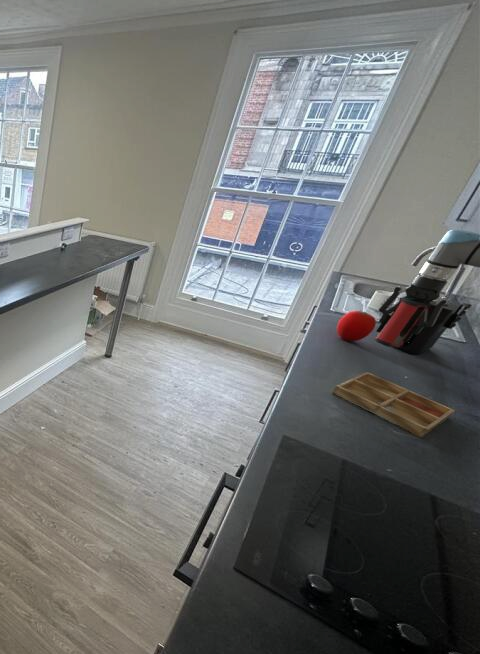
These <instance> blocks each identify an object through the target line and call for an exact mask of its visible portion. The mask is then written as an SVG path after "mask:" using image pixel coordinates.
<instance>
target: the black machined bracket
mask: <svg viewBox="0 0 480 654" xmlns="http://www.w3.org/2000/svg"><path fill="white" fill-rule="evenodd" d="M436 302H437V300H433V301H431V302H430V303H431V306H430V308H428V312H427V320H426V323H428V321H429V319H430V317H431V315H432V313H433V311H434V309H435V307H436V306H437V304H436ZM472 305H473V304H471V303H466V302H463V303H461V304H460V305H459V306H457V305H456V304H453V303H450V302H448V303H447V304H445V305H444V306H443V308H442V310H441V312H440V314H439V316H438V318H437V320H436V322H435V324H434V325H433V326H431V327H423V329H422V330H421V331H420V333H419V334H417V335H415V334H413V336H412V337H411V338H410V340H409V341H407V342H409V343H410V344H408V346H406V345H404V344H403V345H402V347H399V348H397V349H396V350H399V349H400V350H399V351H402V350H403V351H402V352H404V351H405V353H406V354H409V355H410V354H411V355H416V356H417V355H421V354H423V353H425V352H427V351H428V350H430V349H432V348H433V347H434V346H435V344H436V343H437V342H438V340H439V339H440V338H441V336H442V335H443V334H444V333H445V331H447V329H449V330H451V329H454V328H455V327H456V326H457V324H458V322H460V321H461V320H462V316H465V315H466V313H468V311H467V310H469V309H471V307H472ZM417 324H419V322H418V323H417Z"/></svg>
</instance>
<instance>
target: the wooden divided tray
mask: <svg viewBox="0 0 480 654" xmlns="http://www.w3.org/2000/svg"><path fill="white" fill-rule="evenodd" d="M332 393H334V394H336V395H338V396H340V397H342V398H344V399H346V400H348V401H351V402H353V403H355V404H358V405H360V406H362V407H364V408H366V409H368V410H371V411H373V412H375V413H377V414H379V415H381V416H383V417H385V418H387V419H388V420H391V421H392V422H394V423H396V424H398V425H399V426H400V427H402V428H403V429H402V428H401V429H402V430H404V429H405V430H404V431H406V430H407V431H406V432H408V431H409V432H408V433H410V432H411V433H410V434H412V435H414V436H415V437H418V438H421V439H422V438H423V437H424V436H426V435H427V434H428V433H430V432H431V431H433V430H434V429H436V428H437V427H438V426H440V425H442V424H443V423H445V421H447V420H448V419H449V418H450V417H451V416H452V415H453V414H454V413H455V412H456V410H455V409H453V408H451V407H448V406H446V405H444V404H442V403H439V402H436V401H435V400H432V399H430V398H427V397H425V396H423V395H421V394H419V393H417V392H414V391H412V390H410V389H407V388H404V387H402V386H400V385H398V384H396V383H394V382H391V381H389V380H386V379H384V378H382V377H379V376H378V375H375V374H373V373H370V372H368V371H366V372H364V373H362V374H359V375H358V376H355V377H352V378H351V379H348V380H347V381H344V382H342V383H339V384H337V385H336V386H335V387H334V389H333V390H332V392H331V394H332ZM334 394H333V395H334ZM336 395H335V396H336ZM338 396H337V397H338ZM340 397H339V398H340ZM342 398H341V399H342ZM344 399H343V400H344ZM346 400H345V401H346ZM348 401H347V402H348ZM379 402H380V403H381V404H380V405H378V403H379ZM386 407H391V408H392V407H393V410H392V411H390V410H388V409H386ZM394 408H395V411H394ZM439 424H440V425H439ZM400 427H399V428H400ZM432 429H433V430H432ZM425 434H426V435H425Z"/></svg>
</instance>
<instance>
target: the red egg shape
mask: <svg viewBox="0 0 480 654" xmlns="http://www.w3.org/2000/svg"><path fill="white" fill-rule="evenodd" d="M376 323H377V321H376V318H375V316H373V315H372V314H370V313H367V312H366V311H362V310H352V311H351V310H350V311H349V312H347V313H345V314H344V315H342V317H341V318H340V319H339V321H338V323H337V325H336V333H337V335H338V336H339V338H341V339H342V340H344V341H348V342H357V341H360V340H362V339H365V338H366V337H368V336H369V335H370V334H371V333H372V332H373V331H374V329H375V328H376Z"/></svg>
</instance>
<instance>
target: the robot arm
mask: <svg viewBox="0 0 480 654" xmlns="http://www.w3.org/2000/svg"><path fill="white" fill-rule="evenodd" d="M461 264H462V265H465V266H471V267H474V268H478V269H479V268H480V233H478V232H474V231H473V232H472V231H468V230H462V229H451V230H448V231H446V233H445V235H444V236H443V237H442V239H441V240H440V241H439V242H438V243H437V245H436V246H435V248H434V249H433V251H432V253H431V254H430V256H429V258H428V259H427V260H426V262H425V263H424V265H423V266H422V268H421V269H420V271H419V274H418V275H416V277H415V278H414V279H413V281H412V282H411V284H410V285H409V286H407V287H405V286H404V287H403V286H401V285H400V286H396V287H395V288H394V290H393V293H392V294H391V295H390V296H389V297H388V298H387V299H386V300H385V302H384V303H383V304H382V305H381V306H380V307H379V308H378V312H380V313H382V316H381V317H380V318H379V320H378V323H380V325H379V326H378V327H377V329H376V330H375V332H376V333H379V332H380V331H381V329H382V328H383V327H384V325H385V324H386V322H387V321H388V319H389V318H390V316H391V315H392V313H393V312H394V310H396V309H397V307H398V306H399V304H400V303H401V300H399V302H397V303H395V304H394V305H393V306H391V305H392V304H393V302H394V301H396V299H397V298H398V297H399V296H400V295H401V294H403V293H404V292H405V296H407V297H408V298H413V300H417V301H421V302H431V301H437V302H436V304H437V306H436V307H435V309H434V311H433V313H432V315H431V317H430V319H429V321H428V323H426V320H427V312H428V309H427V310H426V309H425V311H424V312H423V313H422V315H421V314H420V315H421V316H420V317H419V324H416V325H414V327H413V328H412V330H411V331H410V332H409V334H408V335H407V336H406V338H405V339H404V343H406V342H407V341H409V340H410V338H411V337H412V336H413V334H415V335H417V334H419V333H420V331H421V330H422V329H423V327H431V326H433V325H434V324H435V322H436V320H437V318H438V316H439V314H440V312H441V310H442V308H443V306H444V305H445V304H447V303H450V302H449V301H450V300H449V299H448V298H445V299H444V298H443V297H441V296H440V294H441V292H442V291H443V290H444V288H445V286H446V285H447V284H448V280H451V278H452V277H453V275H454V274H455V273H456V272H457V270H458V268H459V267H460V266H461ZM408 298H407V299H408ZM409 300H410V299H409ZM413 300H412V301H413ZM421 302H419V303H421ZM424 304H429V303H424ZM390 306H391V307H390ZM389 307H390V308H389Z"/></svg>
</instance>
